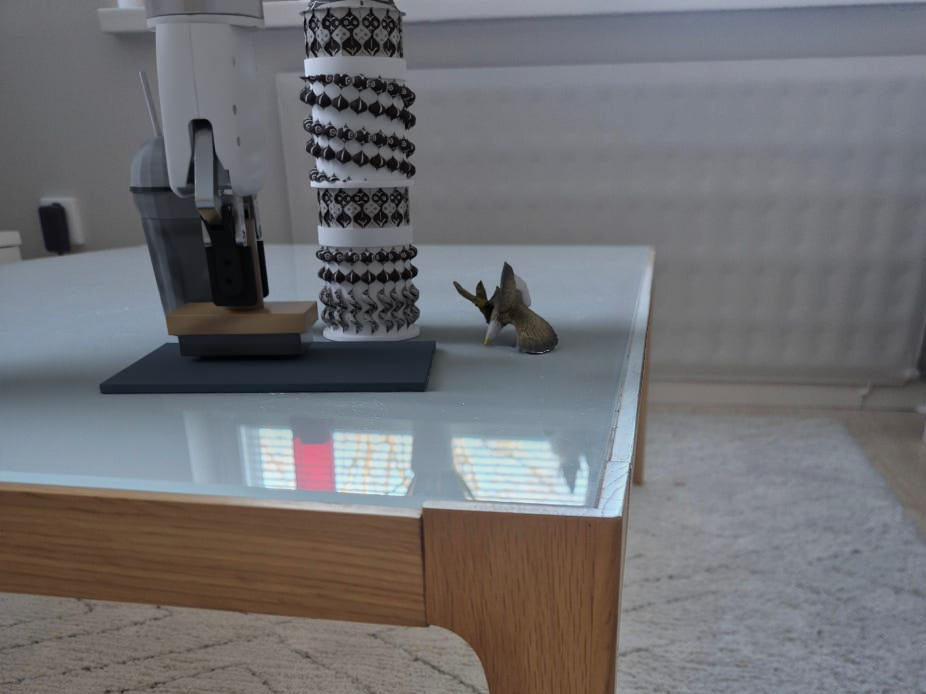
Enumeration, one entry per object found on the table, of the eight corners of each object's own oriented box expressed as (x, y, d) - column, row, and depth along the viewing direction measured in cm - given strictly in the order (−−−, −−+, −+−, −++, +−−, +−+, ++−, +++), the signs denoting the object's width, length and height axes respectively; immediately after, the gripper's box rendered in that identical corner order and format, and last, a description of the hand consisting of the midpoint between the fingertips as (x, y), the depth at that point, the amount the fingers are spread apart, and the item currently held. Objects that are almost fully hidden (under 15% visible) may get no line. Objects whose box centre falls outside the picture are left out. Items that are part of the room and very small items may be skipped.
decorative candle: (303, 342, 79) (270, -18, 67) (337, 323, 87) (313, -1, 75) (409, 345, 78) (393, -23, 66) (433, 326, 86) (424, -5, 74)
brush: (171, 358, 69) (149, 224, 64) (194, 342, 74) (175, 217, 70) (308, 356, 69) (294, 221, 64) (320, 340, 74) (309, 215, 70)
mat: (100, 393, 63) (98, 384, 63) (167, 350, 77) (165, 342, 76) (425, 391, 63) (424, 382, 63) (436, 347, 76) (435, 340, 76)
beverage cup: (243, 334, 82) (210, 68, 73) (156, 341, 80) (111, 67, 71) (230, 322, 88) (199, 74, 79) (150, 327, 86) (107, 73, 77)
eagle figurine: (432, 326, 79) (481, 321, 71) (467, 247, 78) (520, 233, 70) (504, 370, 82) (557, 369, 75) (537, 294, 82) (594, 286, 74)
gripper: (182, 20, 68) (219, 287, 77) (101, -13, 54) (158, 321, 63) (285, 18, 68) (310, 286, 77) (231, -15, 54) (270, 319, 62)
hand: (242, 299), depth 70 cm, fingers closed on brush, 3 cm apart
